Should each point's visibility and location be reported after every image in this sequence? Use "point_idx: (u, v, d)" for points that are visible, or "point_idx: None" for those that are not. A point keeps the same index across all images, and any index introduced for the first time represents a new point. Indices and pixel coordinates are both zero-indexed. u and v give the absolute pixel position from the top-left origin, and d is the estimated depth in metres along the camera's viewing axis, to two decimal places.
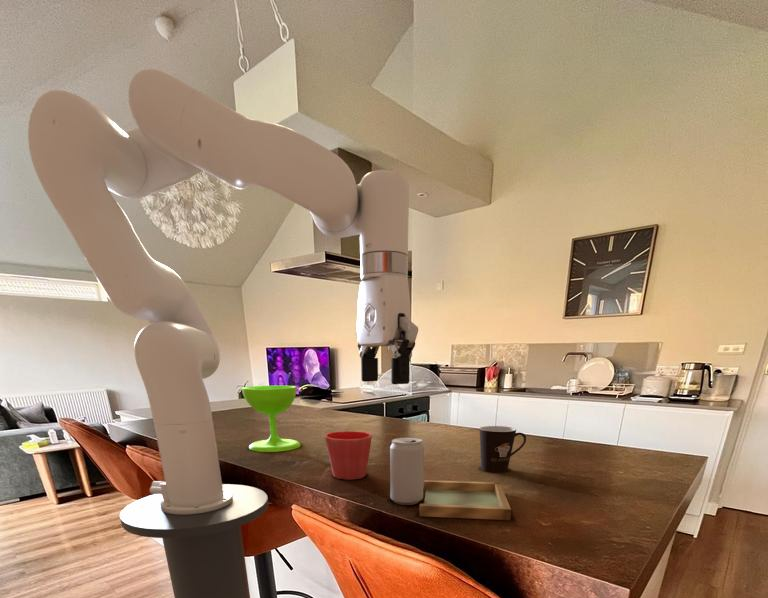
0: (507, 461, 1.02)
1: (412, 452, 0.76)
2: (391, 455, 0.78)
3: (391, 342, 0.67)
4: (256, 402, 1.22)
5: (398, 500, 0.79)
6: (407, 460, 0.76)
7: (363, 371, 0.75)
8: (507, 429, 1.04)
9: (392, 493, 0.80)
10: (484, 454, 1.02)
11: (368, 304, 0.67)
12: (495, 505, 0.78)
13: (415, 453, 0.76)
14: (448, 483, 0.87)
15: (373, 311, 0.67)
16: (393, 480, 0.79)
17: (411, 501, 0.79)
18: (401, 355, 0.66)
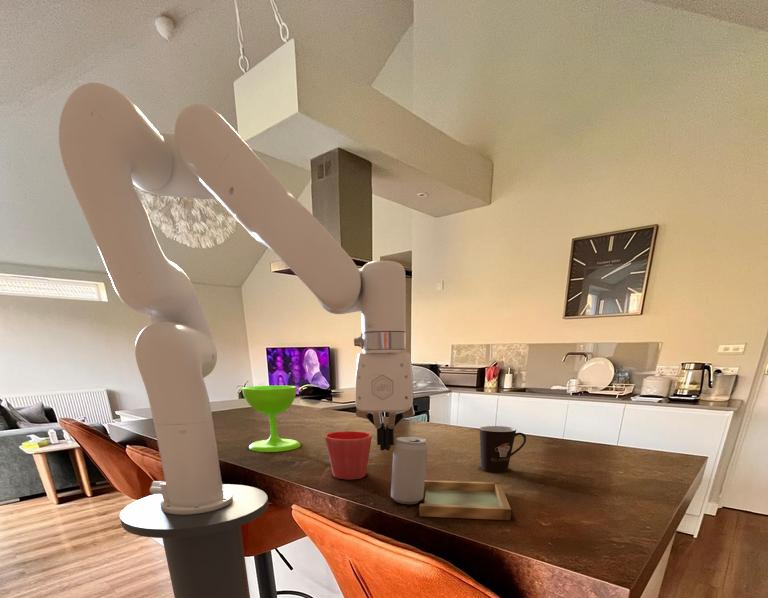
0: (507, 461, 1.02)
1: (416, 452, 0.76)
2: (394, 453, 0.78)
3: (393, 413, 0.76)
4: (256, 402, 1.22)
5: (398, 499, 0.79)
6: (410, 459, 0.76)
7: (383, 441, 0.77)
8: (507, 429, 1.04)
9: (393, 492, 0.80)
10: (484, 454, 1.02)
11: (380, 375, 0.72)
12: (495, 505, 0.78)
13: (419, 453, 0.76)
14: (448, 483, 0.87)
15: (389, 382, 0.72)
16: (394, 479, 0.79)
17: (411, 500, 0.79)
18: None
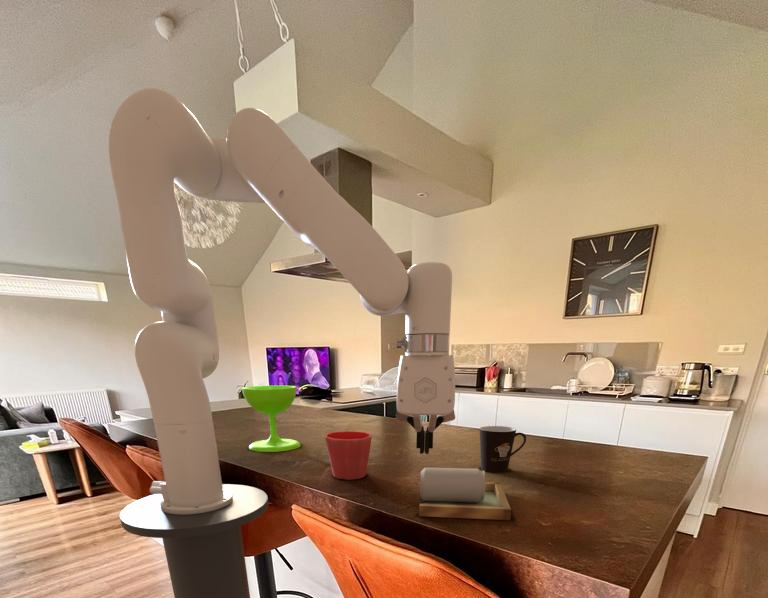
0: (507, 461, 1.02)
1: (475, 496, 0.77)
2: (471, 473, 0.77)
3: (434, 416, 0.75)
4: (256, 402, 1.22)
5: (425, 481, 0.77)
6: (468, 491, 0.77)
7: (423, 444, 0.76)
8: (507, 429, 1.04)
9: (431, 473, 0.78)
10: (484, 454, 1.02)
11: (423, 378, 0.71)
12: (495, 505, 0.78)
13: (473, 499, 0.78)
14: None
15: (432, 385, 0.71)
16: (445, 475, 0.77)
17: (424, 494, 0.78)
18: (434, 429, 0.76)
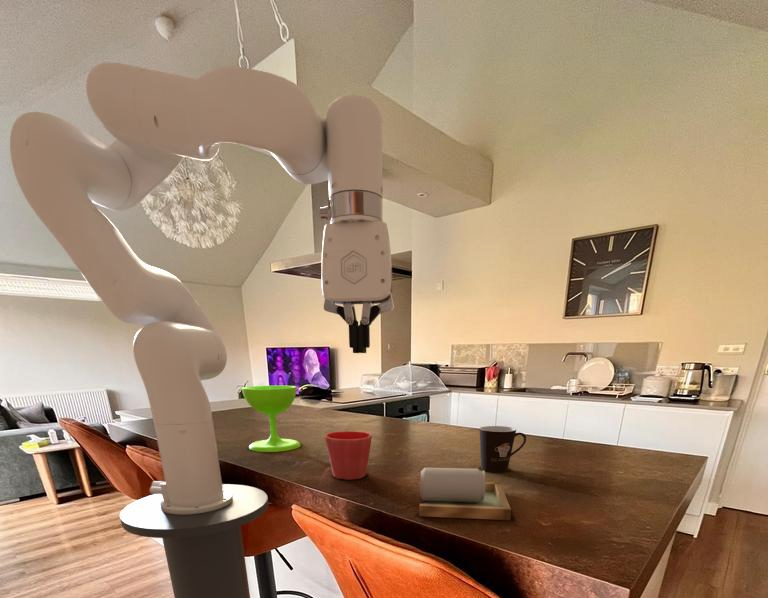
0: (507, 461, 1.02)
1: (475, 496, 0.77)
2: (471, 473, 0.77)
3: (367, 304, 0.63)
4: (256, 402, 1.22)
5: (425, 481, 0.77)
6: (468, 491, 0.77)
7: (356, 340, 0.64)
8: (507, 429, 1.04)
9: (431, 473, 0.78)
10: (484, 454, 1.02)
11: (351, 251, 0.59)
12: (495, 505, 0.78)
13: (473, 499, 0.78)
14: None
15: (361, 260, 0.59)
16: (445, 475, 0.77)
17: (424, 494, 0.78)
18: (369, 322, 0.64)
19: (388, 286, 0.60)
